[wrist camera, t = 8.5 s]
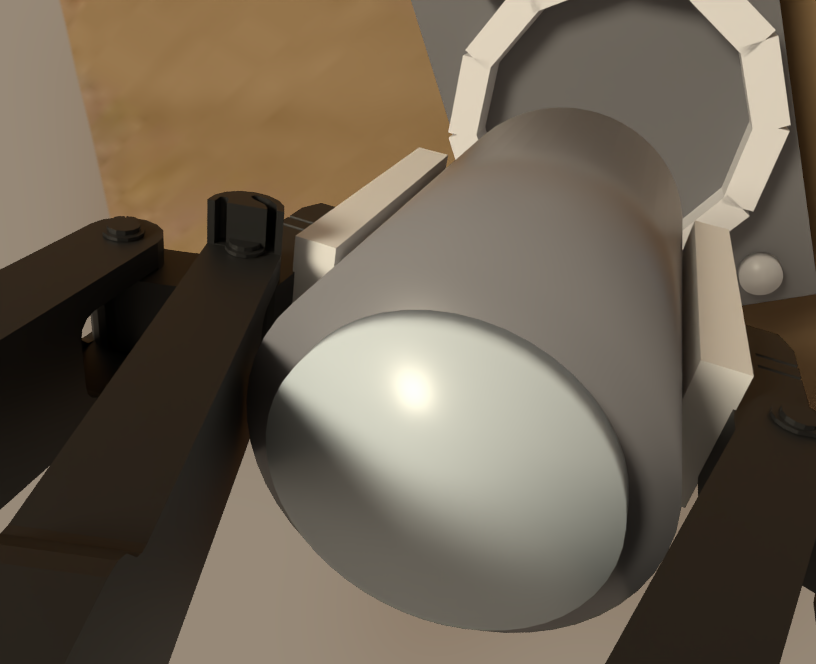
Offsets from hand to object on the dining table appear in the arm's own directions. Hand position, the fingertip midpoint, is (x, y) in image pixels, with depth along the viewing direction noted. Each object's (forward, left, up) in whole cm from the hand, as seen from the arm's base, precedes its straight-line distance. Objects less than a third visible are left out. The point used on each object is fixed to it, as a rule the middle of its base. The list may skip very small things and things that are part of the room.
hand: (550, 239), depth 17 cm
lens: (0, 0, -1) cm, 1 cm away
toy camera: (0, 0, -18) cm, 18 cm away
